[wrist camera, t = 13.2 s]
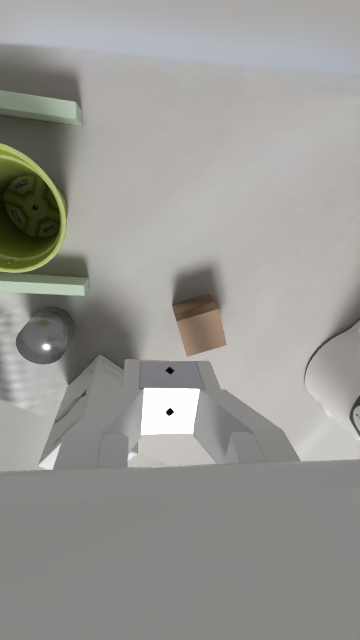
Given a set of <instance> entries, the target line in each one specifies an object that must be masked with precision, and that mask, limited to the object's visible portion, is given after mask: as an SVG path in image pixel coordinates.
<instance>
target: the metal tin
mask: <svg viewBox="0 0 360 640" xmlns="http://www.w3.org/2000/svg"><path fill="white" fill-rule="evenodd" d="M73 332H74V322H73V319H72V318H71V316H70V315H69V314H68V313H67V312H66V311H64V310H62V309H60V308H56V307H45V308H42V309H40V310H39V311H37V312H36V313H35V315H34V316H33V317H32V318H31V319H30V320H29V322H28V323H27V324H26V325H25V326H24V328H23V329H22V330H21V331H20V332H19V334H18V336H17V338H16V346H17V349H18V351H19V353H20V354H21V355H22V356H23V357H24V358H26V359H27V360H29V361H31V362H33V363H37V364H50V363H53V362H55V361H57V360H59V359H60V358H61V357H62V355H63V353H64V351H65V349H66V347H67V345H68V343H69V341H70V338H71V336H72V334H73Z"/></svg>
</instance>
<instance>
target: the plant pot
mask: <svg viewBox="0 0 360 640" xmlns="http://www.w3.org/2000/svg"><path fill="white" fill-rule="evenodd" d="M22 181H27V182H28V184H26V185H23V186H21V187H19V188H18V189H16V185H17V184H18V183H20V182H22ZM52 193H53V194H54V195H53V194H52ZM54 196H55V197H54ZM55 198H56V199H55ZM34 205H37V206H38V210H34V209H33V206H34ZM13 210H14V211H15V212H16V214H17V216H18V217H19V219H20V221H21V222H22V223H20V222H18V221H17V220H16V218H15V217H14V215H13V212H12V211H13ZM66 220H67V205H66V201H65V199H64V197H63V195H62V193H61V192H60V190H59V189H58V188H57V187H56V186H55V184H54V183H53V181H52V180H51V179H50V177H49V176H48V175H47V174H46V173H45V171H44V170H43V169H42V168H41V167H40V166H39V165H38V164H37V163H35V162H34V161H33V160H32V159H31V158H29V157H28V156H26V155H25V154H23V153H22V152H20V151H18V150H16V149H14V148H12V147H10V146H7V145H5V144H2V143H0V271H1V272H10V273H20V272H27V271H31V270H34V269H37V268H39V267H41V266H43V265H45V264H46V263H47V262H49V261H50V260H51V259H52V258H53V257H54V256H55V255H56V254H57V252H58V251H59V249H60V247H61V245H62V243H63V241H64V238H65V234H66V225H67V222H66ZM53 225H55V228H54V229H52V230H51V231H50V232H45V231H44V229H47V228H49V227H51V226H53Z"/></svg>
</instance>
